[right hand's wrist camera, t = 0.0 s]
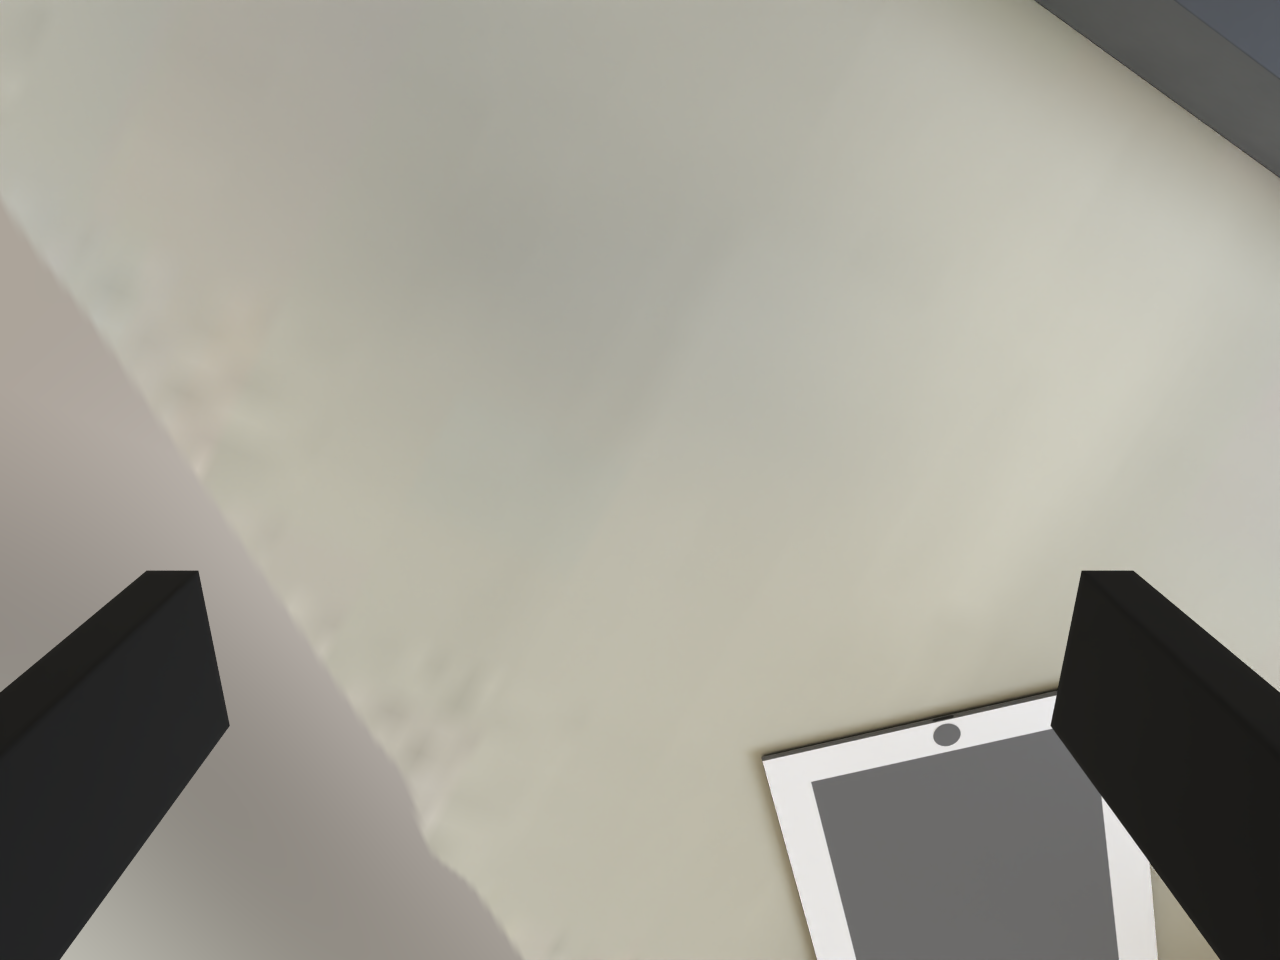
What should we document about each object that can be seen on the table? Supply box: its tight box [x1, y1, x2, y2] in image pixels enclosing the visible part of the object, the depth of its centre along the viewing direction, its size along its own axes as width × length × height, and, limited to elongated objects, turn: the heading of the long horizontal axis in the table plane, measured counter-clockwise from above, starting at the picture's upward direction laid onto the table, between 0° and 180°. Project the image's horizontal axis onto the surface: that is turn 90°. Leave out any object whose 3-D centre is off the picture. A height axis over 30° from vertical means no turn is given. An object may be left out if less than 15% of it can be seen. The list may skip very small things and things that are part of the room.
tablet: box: [762, 690, 1158, 960], centre depth 52 cm, size 32×20×1 cm, turn 16°
